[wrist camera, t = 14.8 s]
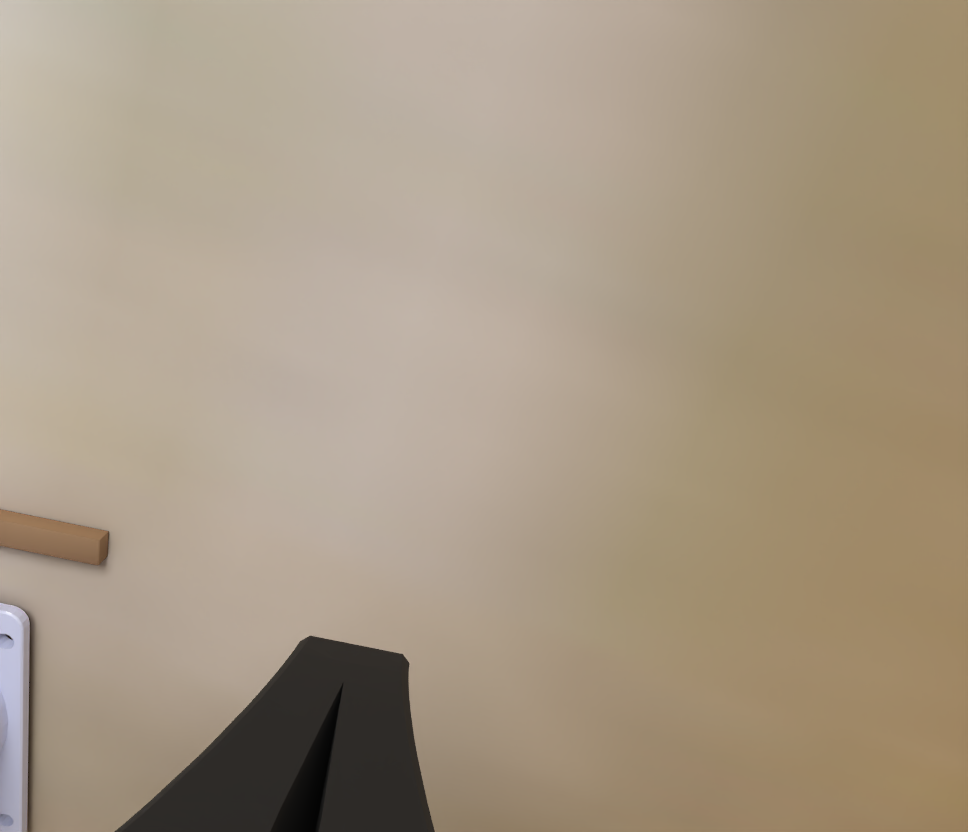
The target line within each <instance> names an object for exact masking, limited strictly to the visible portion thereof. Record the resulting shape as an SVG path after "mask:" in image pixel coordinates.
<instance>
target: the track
mask: <svg viewBox="0 0 968 832" xmlns="http://www.w3.org/2000/svg"><path fill="white" fill-rule="evenodd" d="M108 533H109V531H104V530H99V529H94V528H89V527H84V526H79V525H74V524H69V523H64V522H60V521H55V520H50V519H45V518H40V517H35V516H30V515H25V514H20V513H15V512H10V511H5V510H1V509H0V546H5V547H10V548H15V549H19V550H24V551H29V552H34V553H39V554H44V555H49V556H54V557H59V558H64V559H69V560H74V561H79V562H84V563H89V564H94V565H99V564H100V563H101V562H102V561H103V560H104V559H105V558H106V557H107V552H108Z"/></svg>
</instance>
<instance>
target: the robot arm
mask: <svg viewBox="0 0 968 832" xmlns="http://www.w3.org/2000/svg"><path fill="white" fill-rule="evenodd" d="M5 634H7V635H9V636H10V637H11V638H12V639H13V640H11V639H9V638H8V637H7V636H6V635H5ZM29 642H30V622H29V617H28V616H27V615H26V613H25V612H24V611H23V610H22V609H20V608H18V607H16V606H13V605H8V604H3V603H0V832H27V804H28V723H29ZM408 672H409V662H408V661H407V660H406V658H405V657H404V655H403V654H399V653H394V652H389V651H384V650H379V649H374V648H369V647H364V646H359V645H354V644H349V643H344V642H339V641H334V640H329V639H324V638H319V637H314V636H309V637H307V638H305V639H304V640H302V641H300V642H299V644H298V645H297V647H296V648H295V650H294V651H293V652H292V654H291V655H290V656H289V658H288V659H287V660H286V662H285V663H284V664H283V665H282V667H281V668H280V669H279V670H278V672H277V673H276V674H275V675H274V676H273V678H272V679H271V680H270V681H269V682H268V683H267V685H266V686H265V687H264V688H263V689H262V690H261V691H260V693H259V694H258V695H257V696H256V697H255V698H254V699H253V700H252V702H251V703H250V704H249V705H248V706H247V707H246V708H245V709H244V710H243V711H242V712H241V713H240V714H239V715H238V716H237V717H236V718H235V720H234V721H233V722H232V723H231V724H230V725H229V726H228V727H227V728H226V729H225V730H224V731H223V732H222V733H221V734H220V735H219V736H218V737H217V738H216V739H215V740H214V741H213V742H212V743H211V744H210V745H209V746H208V747H207V748H206V749H205V750H204V751H203V752H202V753H201V754H200V755H199V756H198V757H197V758H196V759H195V760H194V761H193V762H192V763H191V764H190V765H189V766H188V767H186V768H185V769H184V770H183V771H182V772H181V773H180V774H179V775H178V776H177V777H176V778H175V779H174V780H172V781H171V782H170V783H169V784H168V785H167V786H166V787H165V788H164V789H163V790H162V791H161V792H160V793H158V794H157V795H156V796H155V797H154V798H153V799H152V800H151V801H150V802H149V803H148V804H146V805H145V806H144V807H143V808H142V809H141V810H140V811H138V812H137V813H136V814H135V815H134V816H133V817H131V818H130V819H129V820H128V821H127V822H126V823H125V824H123V825H122V826H121V827H120V828H119V829H117V830H116V831H115V832H435V831H434V827H433V824H432V820H431V816H430V812H429V808H428V804H427V800H426V795H425V790H424V785H423V781H422V776H421V771H420V767H419V762H418V757H417V752H416V746H415V740H414V734H413V727H412V719H411V712H410V702H409V687H408Z"/></svg>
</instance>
